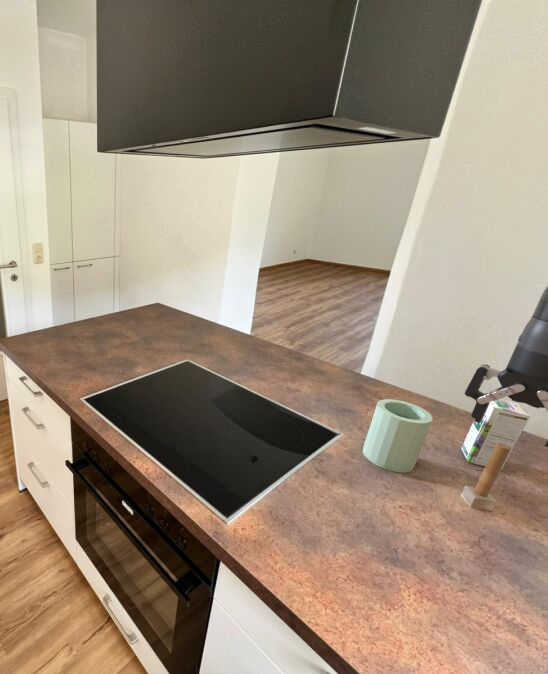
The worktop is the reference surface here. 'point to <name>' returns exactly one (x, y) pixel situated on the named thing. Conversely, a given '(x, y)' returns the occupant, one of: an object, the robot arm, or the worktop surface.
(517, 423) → the syrup box
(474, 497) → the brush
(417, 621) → the worktop surface
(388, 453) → the mint green cup
